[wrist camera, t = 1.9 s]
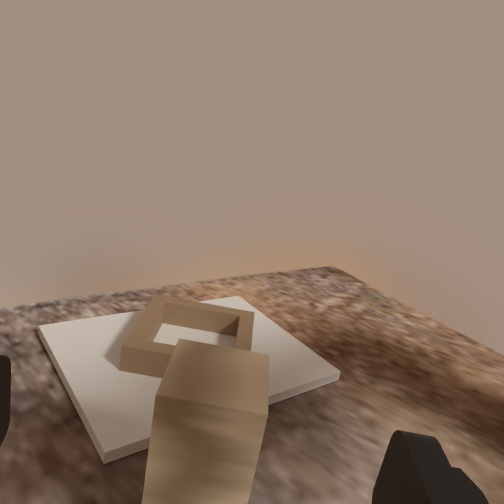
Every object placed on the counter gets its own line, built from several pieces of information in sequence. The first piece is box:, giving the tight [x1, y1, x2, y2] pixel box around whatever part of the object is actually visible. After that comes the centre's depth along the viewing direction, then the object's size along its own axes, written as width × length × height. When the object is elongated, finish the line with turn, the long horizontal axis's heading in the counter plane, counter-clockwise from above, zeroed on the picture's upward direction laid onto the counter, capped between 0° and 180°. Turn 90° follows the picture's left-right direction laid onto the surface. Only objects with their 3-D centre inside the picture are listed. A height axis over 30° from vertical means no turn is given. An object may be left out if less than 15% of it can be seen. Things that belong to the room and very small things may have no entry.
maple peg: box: [142, 338, 269, 504], centre depth 24 cm, size 5×5×12 cm
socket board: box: [38, 294, 341, 464], centre depth 43 cm, size 24×18×4 cm
